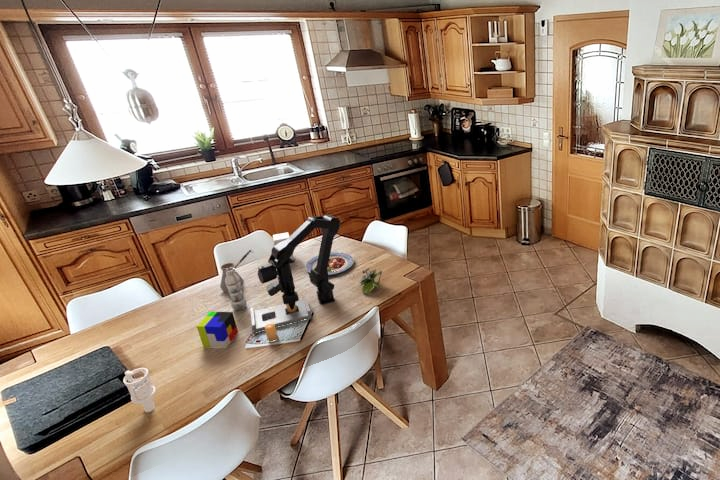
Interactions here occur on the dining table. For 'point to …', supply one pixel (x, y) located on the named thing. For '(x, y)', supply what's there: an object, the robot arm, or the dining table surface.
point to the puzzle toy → (217, 329)
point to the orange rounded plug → (271, 332)
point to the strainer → (140, 389)
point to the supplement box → (281, 239)
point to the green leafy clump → (370, 280)
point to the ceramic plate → (332, 262)
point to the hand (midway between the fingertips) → (291, 306)
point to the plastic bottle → (235, 289)
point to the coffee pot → (229, 265)
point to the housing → (279, 315)
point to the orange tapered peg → (290, 308)
